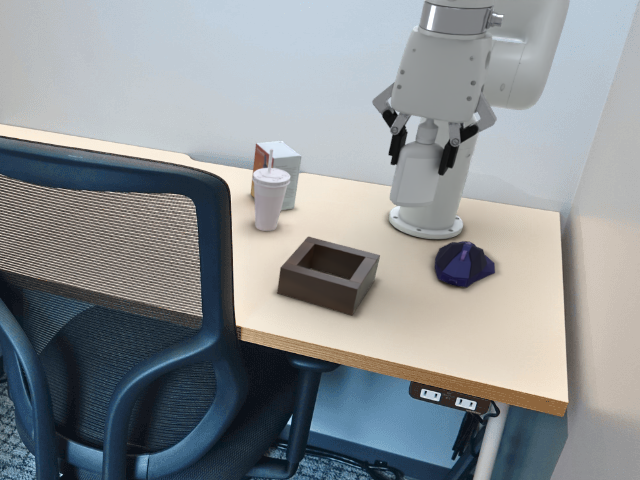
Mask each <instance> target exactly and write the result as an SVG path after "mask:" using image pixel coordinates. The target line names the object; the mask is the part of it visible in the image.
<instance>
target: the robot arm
mask: <svg viewBox="0 0 640 480" xmlns="http://www.w3.org/2000/svg"><path fill="white" fill-rule="evenodd" d="M570 2H571V0H423V3H422V9H421V14H420V18H419V23H418V25H415V26H413V28H412V30H411V32H410V34H409V36H408V39H407V41H406V44H405V47H404V50H403V53H402V56H401V58H400V62H399V65H398V70H397V72H396V76H395V80H394V82H393V83H391V84H390V85H389V86H387V87H386V88H385V89H383V90H382V91H381V92H380V93H379V94H378V95H376V96H375V97H374V98H373V99H372V101H371V103H372V105H373V106H374V108H375V109H376V111H378V113H379V114H380V115H381V118H382V119H383V121H384V122H385V123H386V125H387V127H388V128H389V132H390V134H391V139H390V144H389V149H388V153H387V154H388V156H390V157H391V158H390V166H396V165H397V161H398V156H399V152H400V149H401V148H402V147H403V146H404V145H406V144H407V143H406V142H407V137H408V134H409V131H408V129H407V126H406V125H407V123H408V122H409V121H410V119H411V117H413V116H414V117H419V118H420V119H419V123H418V125H419V124H420V123H424V122H425V121H426V119H427V118H429V119H434V124H436V125H437V126H438V127H439V128H438V132H437V136H436V140H435V143H437V144H439V145H440V146H441V147H442V148H443V149H444V150H443V154H442V158H441V162H440V166H439V170H438V174H439V175H440V177H439V181H438V185H437V189H436V193H435V197H434V201H433V203H432V204H431V205H428V206H424V207H401V206H396V205H395V206H394V207H392V208H391V209H390V211H389V214H388V221H389V223H390V224H391V225H392V226H393V227H394V228H395V229H397V230H398V231H399V232H402V233H404V234H407V235H409V236H413V237H417V238H420V239H428V240H446V239H451V238H454V237H457V236H458V235H460V234H461V233H462V231H463V228H464V221H463V219H462V218H461V217H460V216H459V215H458V211H459V207H460V204H461V201H462V196H463V193H464V190H465V186H466V182H467V180H468V176H469V172H470V169H471V165H472V161H473V158H474V154H475V151H476V148H477V147H476V146H477V145H478V141H479V136H480V133H481V132H483V131H485V130H487V129H489V128H491V127H493V126H494V125H495V124H496V122H497V120H498V118H497V116H496V114H495V112H494V110H493V108H498V109H504V110H513V111H526V110H528V109H531V108H532V107H534V106H535V105H536V104H537V103H538V102H539V100H540V99H541V96H542V94H543V93H544V90H545V87H546V84H547V82H548V78H549V76H550V72H551V68H552V65H553V62H554V59H555V55H556V52H557V48H558V45H559V42H560V39H561V35H562V33H563V29H564V26H565V22H566V19H567V15H568V11H569V7H570ZM499 39H500V40H499ZM504 40H506V41H504ZM507 40H509V41H507ZM514 41H516V42H514ZM389 99H390V103H389ZM476 113H477V115H479V119H478V118H477V116H476Z"/></svg>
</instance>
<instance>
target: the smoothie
mask: <svg viewBox="0 0 640 480" xmlns="http://www.w3.org/2000/svg"><path fill="white" fill-rule="evenodd" d="M272 156H273V149H270V153H269V162H268V168H262V169H258V170H256V171H255V172H254V173H253V172H252V175H253V178H252V177H251V181H252V180H253V182H254V195H255V198H254V225H255V228H256V229H257V230H260V231H263V232H272V231H274V230H276V229H277V226H278V222H279V218H280V215H281V211H282V210H281V207H282V204H283V200H284V196H285V192H286V188H287V185H288V184H289V183H290V175H289V174H288V173H287V172H286V171H283V170H280V169H276V168H271V165H272Z"/></svg>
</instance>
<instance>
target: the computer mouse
mask: <svg viewBox="0 0 640 480" xmlns="http://www.w3.org/2000/svg"><path fill="white" fill-rule="evenodd" d="M434 272H435V276H436V279H438V280H439V281H441V282H443V283H446V284H447V285H450V286H454V287H460V288H468V287H470V286H471V285H473V284H474V283H477V282H478V281H480V280H483V279H485V278H488V277H489V276H491V275H494V274H496V265H495V262H494V261H493V260H492V259H491V258H489V257H488V256H487V255H486V254H485V250H484V249H483V248H481V247H479V246H477V245H476V244H475V243H474V242H471V241H466V240H460V241H451V242H449V243H447V244H445V245H443V246H440V247H439V248H438V252H437V253H436V255H435V257H434Z"/></svg>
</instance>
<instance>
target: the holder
mask: <svg viewBox="0 0 640 480" xmlns="http://www.w3.org/2000/svg"><path fill="white" fill-rule="evenodd" d="M380 258H381V255H380V254H378V253H375V252H370V251H366V250H362V249H358V248H354V247H351V246H347V245H343V244H338V243H335V242H331V241H327V240H323V239H320V238H315V237H312V236H306V238H305V239H304V240H303V241H302V243H301V244H300V245H299V246H298V247H297V248H296V249H295V251H294V252H293V253H292V254H291V255H290V256H289V257H288V258H287V260H286V261H285V262H284V263H282V265H281V266H280V269H279V275H278V276H279V277H278V282H277V283H278V284H277V291H276V293H277V294H278V295H282V296H285V297H288V298H292V299H296V300H298V301H301V302H305V303H308V304H311V305H315V306H318V307H321V308H325V309H329V310H331V311H335V312H338V313H342V314H346V315H348V316H352V317H353V315H354V314H355V312H356V311H357V309H358V307H359V306H360V304H361V302H362V301H363V299H364V298H365V296H366V295H367V293H368V291H369V290H370V288H371V287H372V285H373V283H374V282H375V280H376V276H377V271H378V268H379V262H380Z"/></svg>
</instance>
